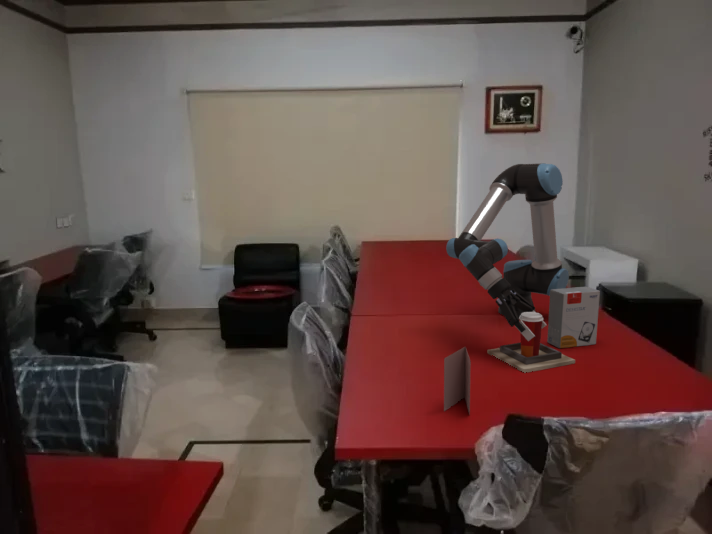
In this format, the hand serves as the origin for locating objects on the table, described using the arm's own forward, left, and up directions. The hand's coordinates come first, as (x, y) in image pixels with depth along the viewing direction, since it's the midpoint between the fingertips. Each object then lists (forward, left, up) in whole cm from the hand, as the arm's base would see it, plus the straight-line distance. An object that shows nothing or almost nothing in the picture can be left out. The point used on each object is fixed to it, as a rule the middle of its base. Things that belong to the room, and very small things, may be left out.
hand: (537, 333), depth 183 cm
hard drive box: (-8, +22, -9) cm, 25 cm away
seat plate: (-2, -1, -9) cm, 9 cm away
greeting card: (+21, -41, -9) cm, 47 cm away
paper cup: (-2, -2, -8) cm, 9 cm away
